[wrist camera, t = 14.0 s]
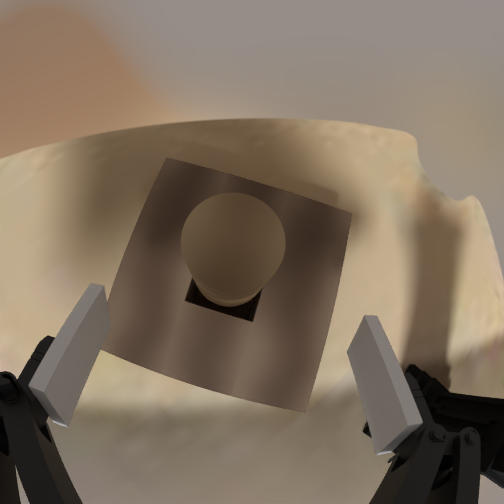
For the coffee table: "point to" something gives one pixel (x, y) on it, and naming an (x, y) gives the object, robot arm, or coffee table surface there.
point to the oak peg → (232, 247)
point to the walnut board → (219, 324)
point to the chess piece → (466, 420)
